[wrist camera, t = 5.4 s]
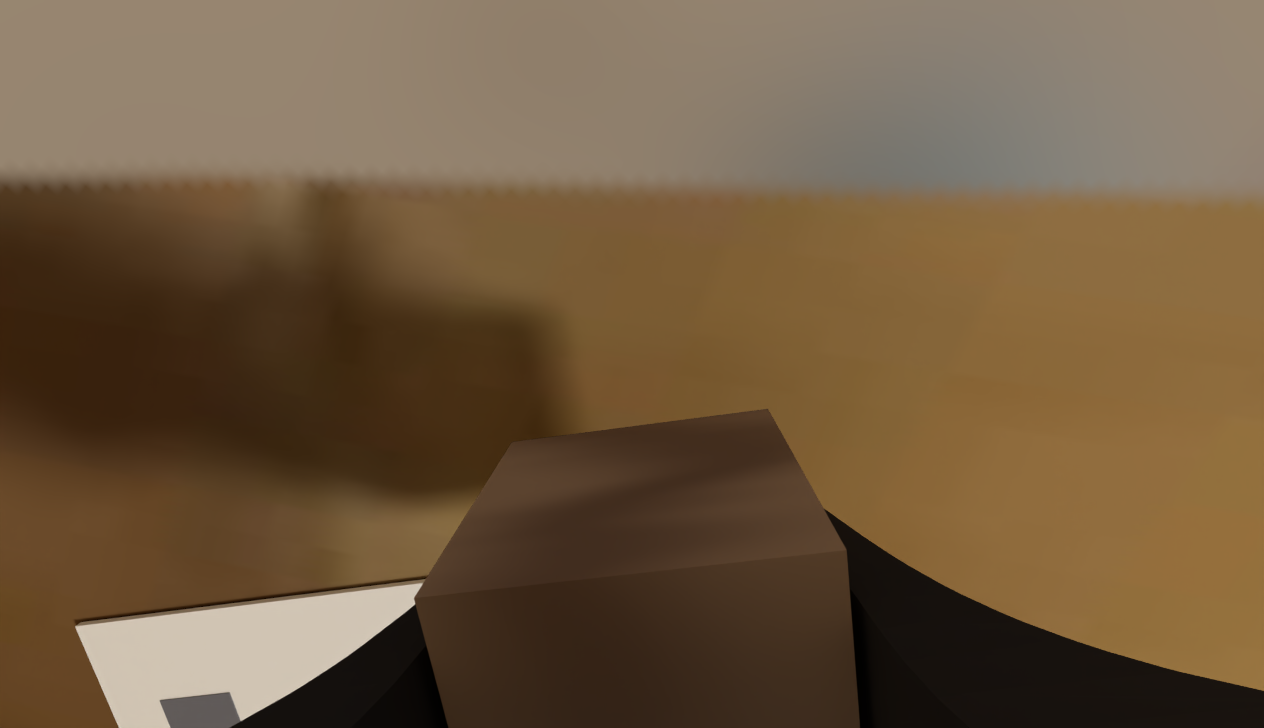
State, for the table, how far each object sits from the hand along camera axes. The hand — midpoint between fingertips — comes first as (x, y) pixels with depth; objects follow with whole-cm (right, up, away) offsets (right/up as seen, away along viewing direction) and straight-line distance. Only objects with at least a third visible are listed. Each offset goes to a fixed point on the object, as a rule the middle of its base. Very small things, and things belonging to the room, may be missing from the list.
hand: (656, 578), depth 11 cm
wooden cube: (0, 0, +1) cm, 1 cm away
